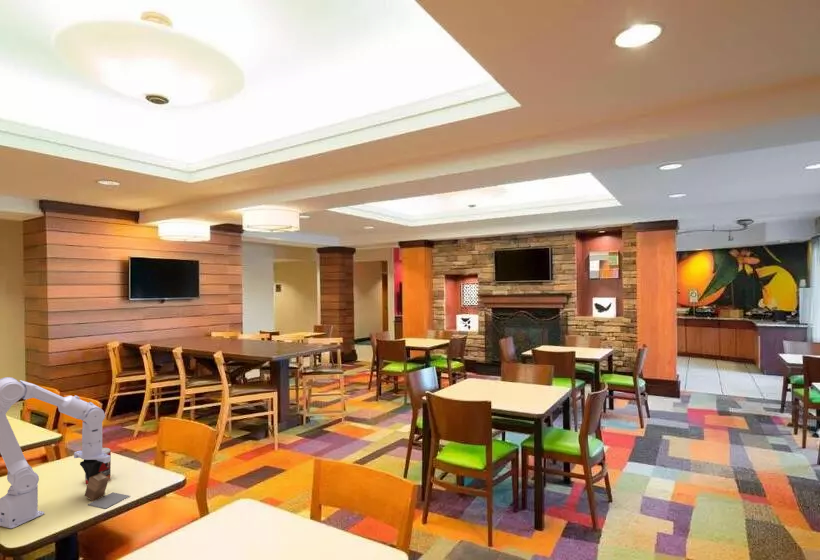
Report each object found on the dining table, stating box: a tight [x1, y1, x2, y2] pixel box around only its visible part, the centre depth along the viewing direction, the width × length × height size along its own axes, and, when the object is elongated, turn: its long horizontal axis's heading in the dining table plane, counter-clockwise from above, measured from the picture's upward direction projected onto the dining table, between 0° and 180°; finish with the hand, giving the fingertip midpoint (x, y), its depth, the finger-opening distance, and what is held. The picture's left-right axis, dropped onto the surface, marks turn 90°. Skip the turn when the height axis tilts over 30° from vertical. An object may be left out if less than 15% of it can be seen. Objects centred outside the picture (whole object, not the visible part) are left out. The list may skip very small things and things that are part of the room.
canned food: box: [84, 447, 112, 485], centre depth 170 cm, size 8×8×11 cm
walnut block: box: [84, 473, 110, 502], centre depth 157 cm, size 4×4×7 cm
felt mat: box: [87, 492, 130, 510], centre depth 155 cm, size 9×8×1 cm
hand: (92, 480), depth 158 cm, fingers closed
